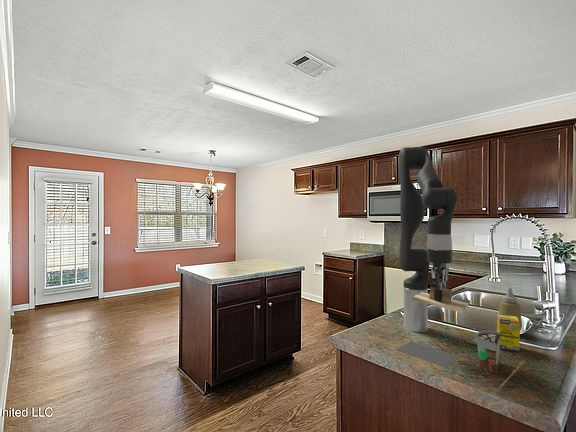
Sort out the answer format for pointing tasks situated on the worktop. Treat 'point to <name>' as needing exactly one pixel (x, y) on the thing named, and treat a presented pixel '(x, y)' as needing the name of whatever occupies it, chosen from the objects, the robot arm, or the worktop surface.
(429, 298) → the lid
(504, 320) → the supplement box
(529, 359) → the worktop surface
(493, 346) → the food container
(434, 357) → the mat
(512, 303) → the squeeze bottle
